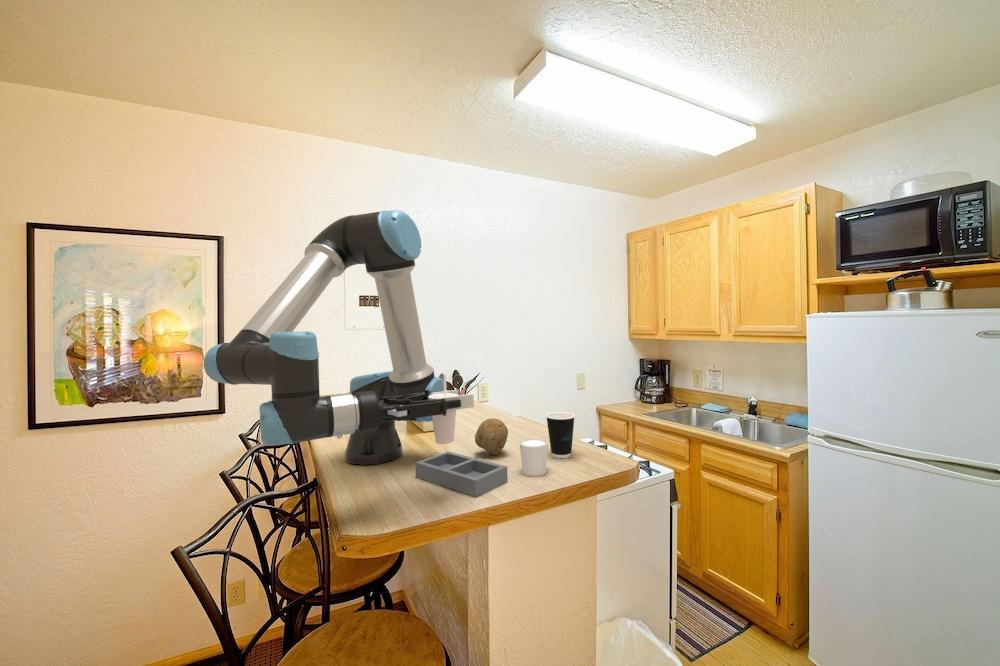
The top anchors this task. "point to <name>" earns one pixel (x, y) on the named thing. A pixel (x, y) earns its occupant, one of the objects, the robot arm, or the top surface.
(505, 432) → the potato
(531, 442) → the white rounded cylinder
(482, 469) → the divided tray
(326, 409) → the robot arm
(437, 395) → the smoothie
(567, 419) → the dixie cup
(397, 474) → the top surface
